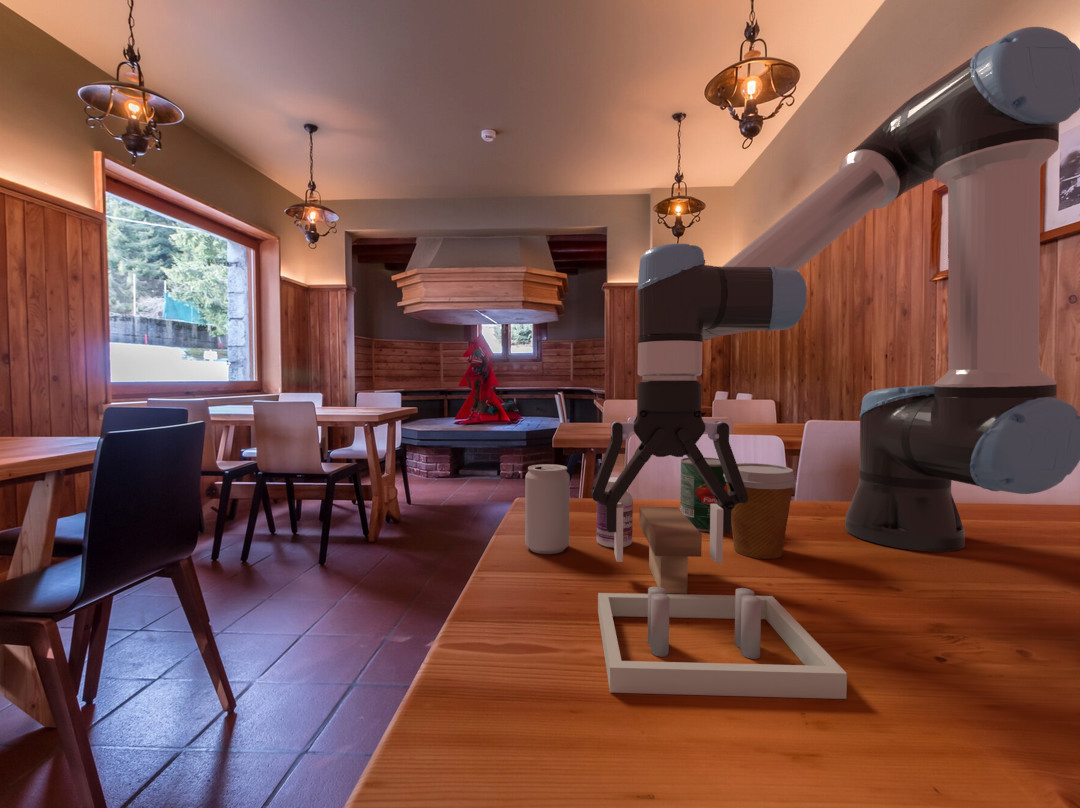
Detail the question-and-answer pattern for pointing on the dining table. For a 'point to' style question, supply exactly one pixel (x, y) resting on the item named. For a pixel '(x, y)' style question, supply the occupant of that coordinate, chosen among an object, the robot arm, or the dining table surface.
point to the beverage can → (547, 508)
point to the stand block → (669, 572)
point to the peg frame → (717, 678)
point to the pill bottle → (627, 503)
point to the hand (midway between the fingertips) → (667, 558)
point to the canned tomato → (698, 493)
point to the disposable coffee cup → (762, 510)
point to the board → (670, 532)
